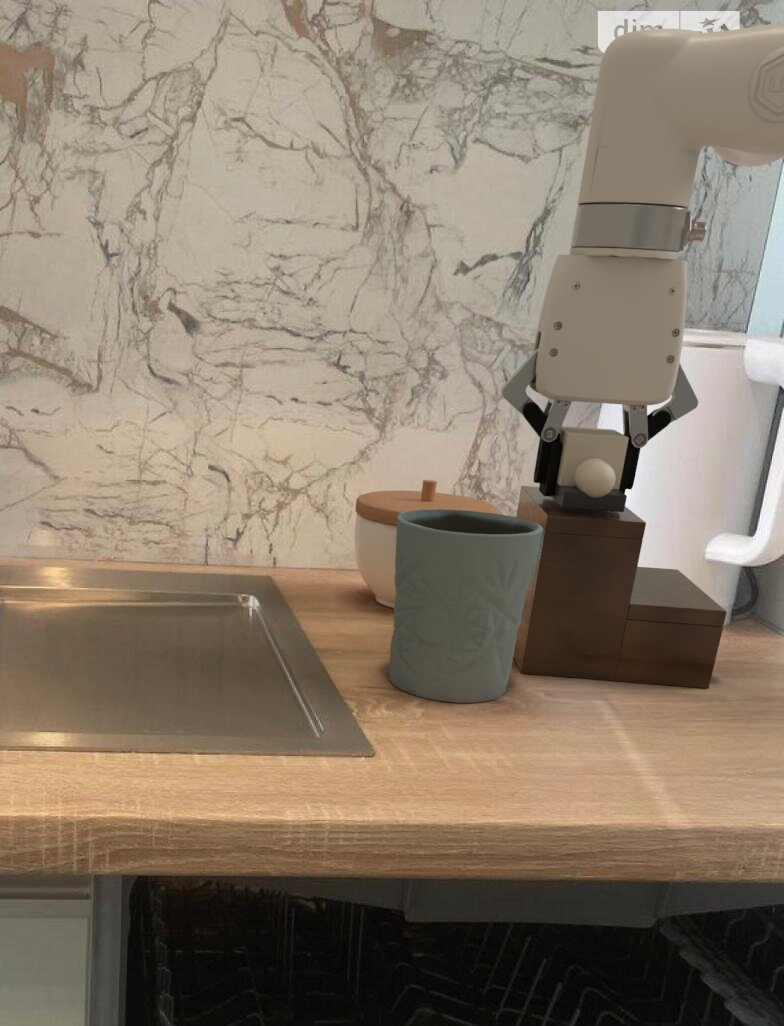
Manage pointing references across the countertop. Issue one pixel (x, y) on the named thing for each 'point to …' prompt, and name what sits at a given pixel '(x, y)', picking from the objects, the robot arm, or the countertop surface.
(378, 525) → the lidded bowl
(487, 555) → the grey-green ceramic cup
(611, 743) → the countertop surface
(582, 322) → the robot arm
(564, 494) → the cream and grey block
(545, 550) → the stepped wooden block
